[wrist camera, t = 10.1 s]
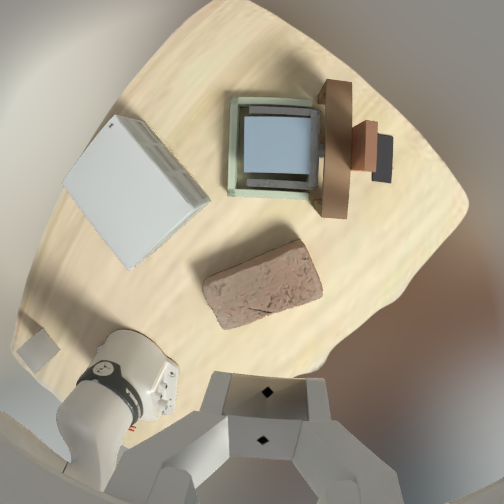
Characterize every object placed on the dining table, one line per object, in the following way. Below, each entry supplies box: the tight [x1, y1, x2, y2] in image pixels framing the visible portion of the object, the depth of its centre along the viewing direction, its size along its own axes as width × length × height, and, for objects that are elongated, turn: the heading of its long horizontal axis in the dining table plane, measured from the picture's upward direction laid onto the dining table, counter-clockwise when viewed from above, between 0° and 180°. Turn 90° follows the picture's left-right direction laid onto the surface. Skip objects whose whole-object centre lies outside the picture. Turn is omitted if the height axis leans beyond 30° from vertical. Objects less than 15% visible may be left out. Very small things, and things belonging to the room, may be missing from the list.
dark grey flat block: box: [372, 134, 393, 183], centre depth 37 cm, size 7×3×1 cm, turn 178°
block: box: [244, 117, 311, 174], centre depth 36 cm, size 7×8×6 cm
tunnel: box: [314, 79, 352, 219], centre depth 34 cm, size 16×3×8 cm, turn 178°
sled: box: [246, 106, 378, 190], centre depth 31 cm, size 11×14×13 cm
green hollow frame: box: [227, 97, 312, 200], centre depth 38 cm, size 14×11×2 cm
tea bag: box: [17, 328, 61, 374], centre depth 49 cm, size 4×7×10 cm, turn 38°
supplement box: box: [62, 114, 211, 271], centre depth 37 cm, size 17×13×9 cm
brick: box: [202, 240, 323, 330], centre depth 42 cm, size 17×8×5 cm, turn 115°
